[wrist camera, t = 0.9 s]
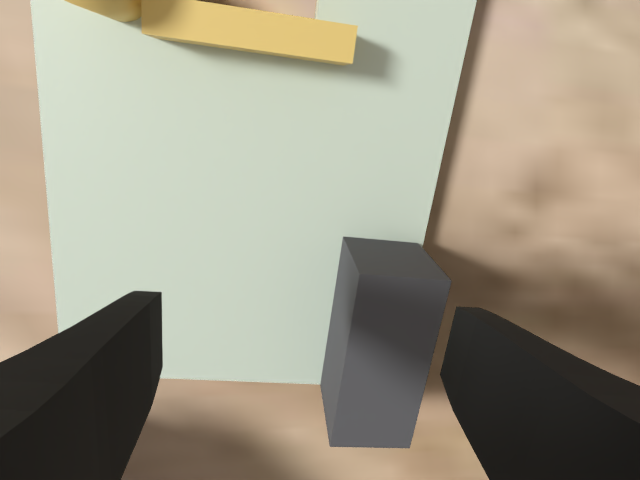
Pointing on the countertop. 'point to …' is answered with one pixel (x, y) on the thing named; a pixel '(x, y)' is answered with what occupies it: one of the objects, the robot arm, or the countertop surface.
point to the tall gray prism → (380, 341)
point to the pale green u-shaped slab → (237, 162)
